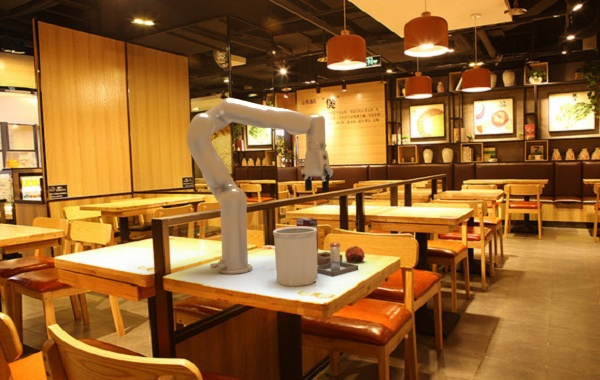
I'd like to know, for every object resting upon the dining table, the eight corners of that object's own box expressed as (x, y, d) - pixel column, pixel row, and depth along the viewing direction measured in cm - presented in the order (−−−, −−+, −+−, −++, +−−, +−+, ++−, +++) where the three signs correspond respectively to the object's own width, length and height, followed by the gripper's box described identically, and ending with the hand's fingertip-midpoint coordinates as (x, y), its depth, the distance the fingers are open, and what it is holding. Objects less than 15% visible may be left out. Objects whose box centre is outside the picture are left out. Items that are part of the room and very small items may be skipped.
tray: (332, 279, 151) (332, 272, 151) (312, 274, 158) (312, 267, 158) (358, 272, 160) (358, 265, 159) (338, 267, 167) (337, 261, 167)
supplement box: (296, 255, 191) (295, 218, 190) (305, 253, 194) (304, 217, 193) (310, 258, 184) (309, 220, 183) (318, 256, 188) (317, 219, 186)
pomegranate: (365, 271, 169) (367, 251, 176) (360, 259, 164) (363, 239, 172) (346, 272, 172) (349, 252, 179) (341, 260, 167) (344, 240, 174)
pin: (335, 273, 157) (335, 244, 156) (328, 271, 159) (328, 243, 158) (342, 271, 159) (341, 243, 158) (335, 270, 161) (334, 242, 161)
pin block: (325, 269, 165) (325, 258, 165) (309, 265, 172) (308, 255, 171) (342, 265, 171) (342, 254, 170) (325, 261, 178) (325, 251, 177)
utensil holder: (272, 287, 144) (270, 233, 143) (277, 275, 159) (275, 226, 157) (318, 286, 143) (316, 232, 142) (318, 274, 158) (317, 225, 157)
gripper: (338, 146, 170) (339, 191, 171) (308, 148, 183) (309, 189, 184) (324, 146, 165) (325, 192, 166) (294, 148, 178) (295, 191, 179)
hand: (317, 191), depth 175 cm, fingers open, 9 cm apart
